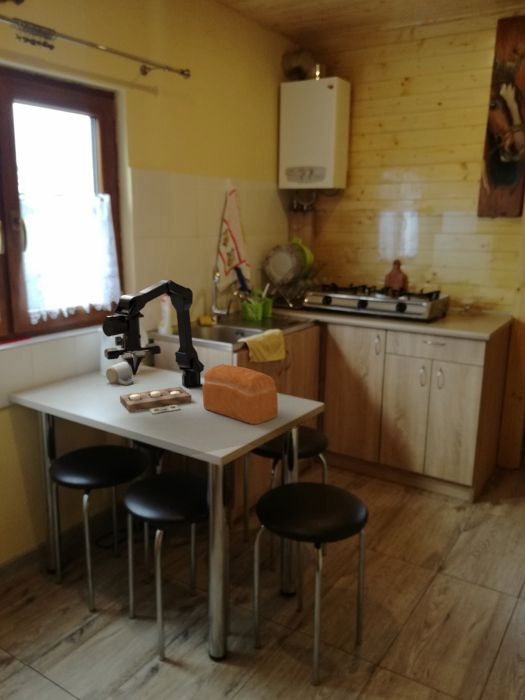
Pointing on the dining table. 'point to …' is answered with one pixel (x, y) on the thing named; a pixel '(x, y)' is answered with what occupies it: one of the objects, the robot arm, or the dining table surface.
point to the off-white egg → (155, 394)
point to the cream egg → (134, 397)
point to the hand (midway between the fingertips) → (134, 374)
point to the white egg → (174, 392)
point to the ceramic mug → (119, 373)
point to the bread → (240, 393)
